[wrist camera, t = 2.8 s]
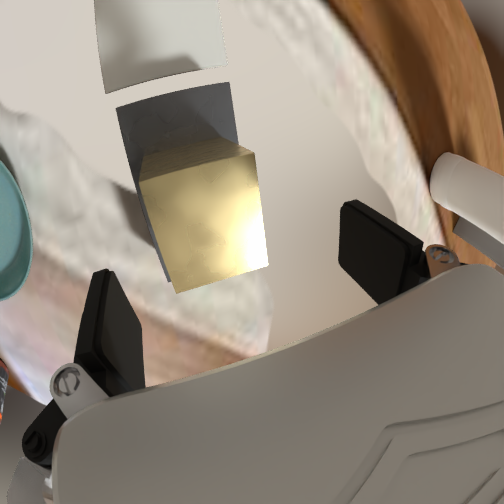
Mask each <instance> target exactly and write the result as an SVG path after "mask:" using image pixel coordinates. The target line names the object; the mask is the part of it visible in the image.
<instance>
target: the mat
mask: <svg viewBox="0 0 504 504" xmlns="http://www.w3.org/2000/svg"><path fill="white" fill-rule="evenodd" d="M94 7H95V21H96V32H97V41H98V49H99V57H100V64H101V70H102V76H103V83H104V88H105V93H106V94H107V93H111V92H113V91H117V90H120V89H123V88H126V87H129V86H133V85H136V84H139V83H143V82H147V81H150V80H154V79H158V78H163V77H167V76H171V75H176V74H181V73H186V72H191V71H197V70H202V69H208V68H216V67H223V66H227V65H228V63H227V56H226V49H225V43H224V36H223V29H222V23H221V17H220V10H219V3H218V0H94Z"/></svg>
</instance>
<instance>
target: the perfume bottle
mask: <svg viewBox="0 0 504 504" xmlns="http://www.w3.org/2000/svg"><path fill="white" fill-rule="evenodd" d="M453 233H455V234H456V235H458V236H459V237H460V238H462V239H463V240H465V241H466V242H468V243H469V244H471V245H472V246H473V247H475V248H476V249H478V250H479V251H480V252H482V253H483V254H484V255H486V256H487V257H488V258H490V259H491V260H492V261H494V262H495V263H496V264H498V265H499V266H500V267H501V268H503V269H504V244H502V243H501V242H500V241H498V240H497V239H495V238H494V237H492V236H491V235H490V234H488V233H487V232H485V231H484V230H482V229H480V228H479V227H477V226H476V225H474V224H473V223H471V222H469V221H468V220H466V219H465V218H463V217H461V216H460V217H459V220H458V222H457V224H456V226H455V228H454V230H453Z"/></svg>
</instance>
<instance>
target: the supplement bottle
mask: <svg viewBox="0 0 504 504" xmlns="http://www.w3.org/2000/svg"><path fill="white" fill-rule="evenodd" d="M8 376H9V371H8V369H7V367H6V365H5V364H4V363H3V362H2V361H1V360H0V423H1V418H2V411H3V404H4V397H5V392H6V387H7V382H8Z"/></svg>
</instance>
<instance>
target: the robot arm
mask: <svg viewBox="0 0 504 504" xmlns="http://www.w3.org/2000/svg"><path fill="white" fill-rule="evenodd" d="M423 243H424V242H423V241H421V240H420V239H418V238H417V237H416V236H414V235H413V234H411V233H410V232H408V231H407V230H405V229H404V228H402V227H401V226H399V225H397V224H396V223H394V222H393V221H391V220H390V219H388V218H387V217H385V216H383V215H382V214H380V213H378V212H377V211H375V210H374V209H372V208H370V207H369V206H367V205H365V204H364V203H362V202H360V201H359V200H352V201H348V202H345V203H344V204H343V206H342V207H341V210H340V236H339V256H338V261H339V264H340V266H341V267H342V268H343V269H344V270H345V271H346V272H347V273H348V274H349V275H350V276H351V277H352V278H353V279H354V280H355V281H356V282H357V283H358V284H359V285H360V286H361V287H362V288H363V289H364V290H365V291H366V292H367V294H368V295H369V296H370V297H372V299H373V300H374V301H375V302H376V303H377V304H378V306H376V307H374V308H372V309H370V310H367V311H365V312H364V313H361V314H359V315H357V316H355V317H352V318H350V319H348V320H346V321H343V322H341V323H339V324H337V325H334V326H332V327H330V328H327V329H325V330H323V331H320V332H318V333H315V334H313V335H310V336H308V337H305V338H303V339H300V340H298V341H295V342H292V343H290V344H287V345H284V346H282V347H279V348H276V349H274V350H271V351H268V352H265V353H262V354H260V355H257V356H254V357H251V358H248V359H245V360H242V361H239V362H236V363H233V364H230V365H226V366H223V367H220V368H217V369H213V370H210V371H206V372H203V373H199V374H196V375H192V376H189V377H185V378H182V379H178V380H174V381H171V382H167V383H163V384H159V385H155V386H151V387H147V388H146V387H145V376H144V363H143V345H142V327H141V324H140V321H139V319H138V318H137V316H136V314H135V312H134V310H133V308H132V306H131V305H130V303H129V301H128V299H127V297H126V295H125V293H124V291H123V289H122V287H121V285H120V283H119V281H118V279H117V277H116V275H115V273H114V271H109V270H108V269H103V270H100V271H97V272H94V273H93V276H92V279H91V283H90V287H89V291H88V295H87V299H86V303H85V307H84V312H83V314H82V318H81V323H80V328H79V333H78V338H77V344H76V350H75V356H74V363H68V364H65V365H63V366H61V367H60V368H59V369H57V371H56V372H55V373H54V374H53V376H52V378H51V382H50V392H51V395H52V397H53V399H52V400H51V402H50V403H49V404H48V405H47V406H46V407H45V409H44V410H43V411H42V412H41V413H40V414H39V416H38V417H37V418H36V419H35V420H34V421H33V423H32V424H31V425H30V426H29V427H28V429H27V430H26V432H25V433H24V436H23V439H22V448H23V452H24V454H25V458H22V457H20V460H19V462H18V465H17V467H16V470H15V472H14V475H13V478H12V481H11V483H10V486H9V489H8V492H7V502H8V504H504V276H503V275H502V274H501V273H499V272H498V271H496V270H495V269H493V268H492V267H490V266H488V265H484V264H465V263H460V262H459V259H458V257H457V255H456V253H455V252H454V251H453V250H451V249H450V248H448V247H446V246H443V245H438V244H434V245H430V246H428V247H427V248H426V250H425V252H424V251H423V250H422V247H423Z"/></svg>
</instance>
